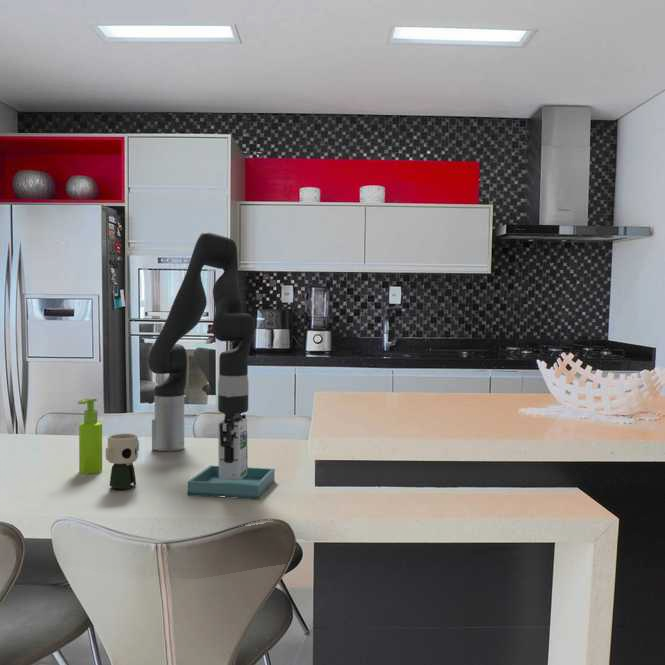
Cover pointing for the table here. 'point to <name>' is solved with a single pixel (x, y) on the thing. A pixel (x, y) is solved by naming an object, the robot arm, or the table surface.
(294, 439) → the table surface
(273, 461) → the table surface
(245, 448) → the syrup box
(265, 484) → the teal tray
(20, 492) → the table surface
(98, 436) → the soap dispenser
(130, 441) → the character mug
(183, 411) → the robot arm
